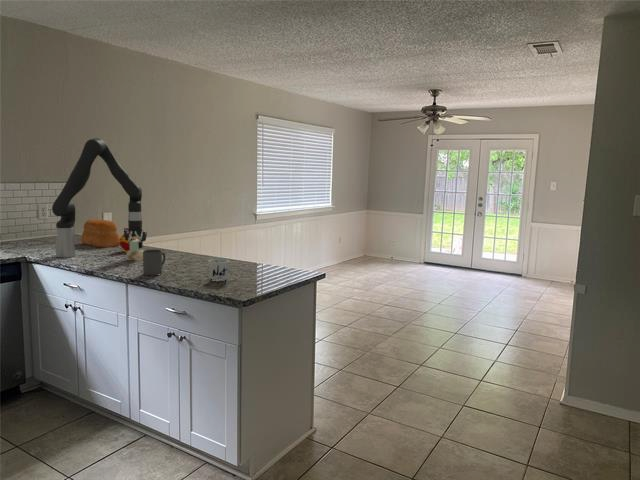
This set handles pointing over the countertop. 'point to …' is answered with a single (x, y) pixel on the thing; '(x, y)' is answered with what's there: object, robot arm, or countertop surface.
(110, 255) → the countertop surface
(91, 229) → the bread
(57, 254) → the robot arm
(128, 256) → the oak block
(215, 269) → the mug
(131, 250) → the sage block
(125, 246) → the potion bottle
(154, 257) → the mug
